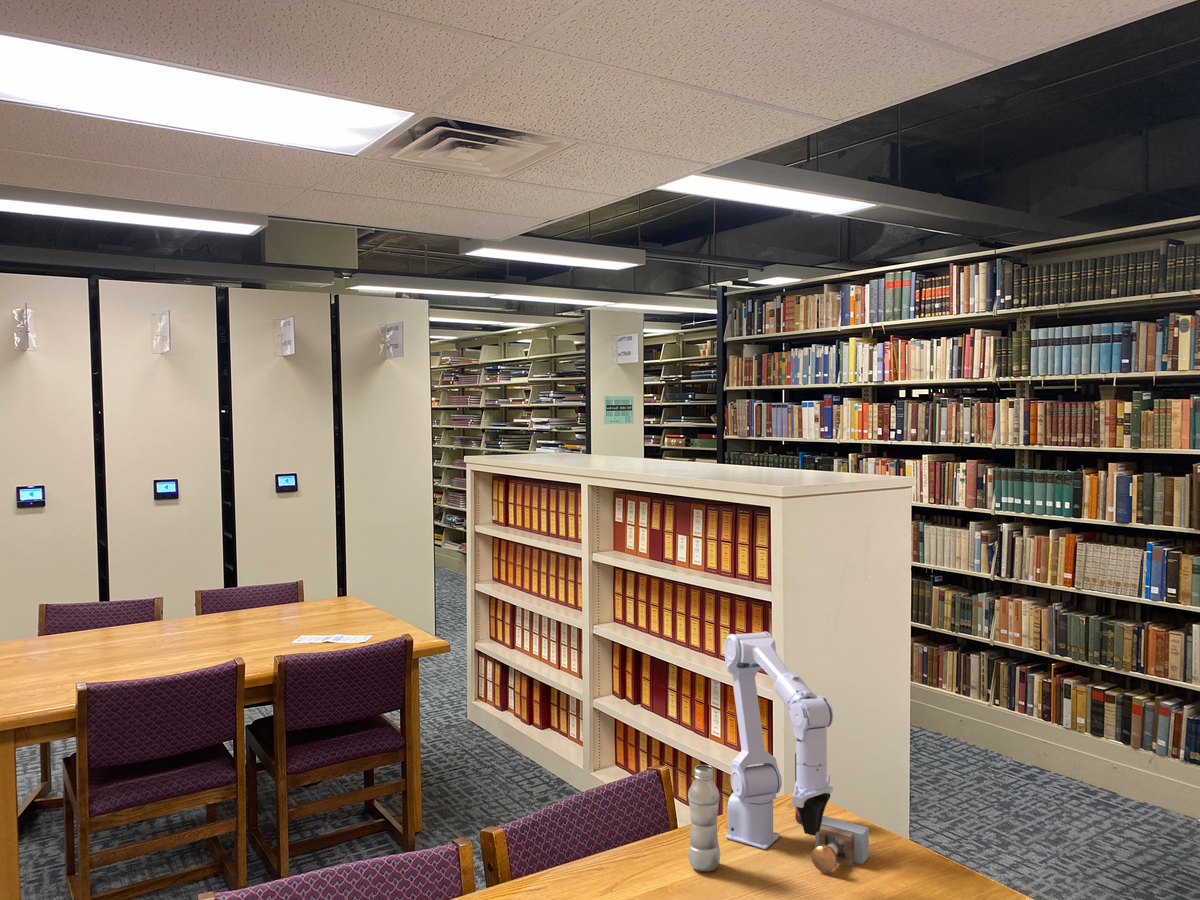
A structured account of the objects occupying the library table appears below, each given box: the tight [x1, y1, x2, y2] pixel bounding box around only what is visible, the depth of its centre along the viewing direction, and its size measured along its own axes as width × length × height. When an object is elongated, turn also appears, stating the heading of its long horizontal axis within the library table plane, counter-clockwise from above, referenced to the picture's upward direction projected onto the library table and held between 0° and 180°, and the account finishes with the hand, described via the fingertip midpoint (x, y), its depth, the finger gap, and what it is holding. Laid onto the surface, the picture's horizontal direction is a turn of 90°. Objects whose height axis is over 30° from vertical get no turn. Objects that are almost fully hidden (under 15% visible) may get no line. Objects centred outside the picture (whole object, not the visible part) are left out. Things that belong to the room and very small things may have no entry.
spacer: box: [819, 825, 855, 867], centre depth 169 cm, size 7×2×6 cm, turn 54°
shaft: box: [810, 838, 845, 873], centre depth 168 cm, size 11×5×5 cm, turn 144°
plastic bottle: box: [687, 764, 721, 872], centre depth 166 cm, size 6×7×20 cm
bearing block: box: [814, 815, 870, 865], centre depth 172 cm, size 10×4×6 cm, turn 54°
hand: (811, 832), depth 159 cm, fingers closed
